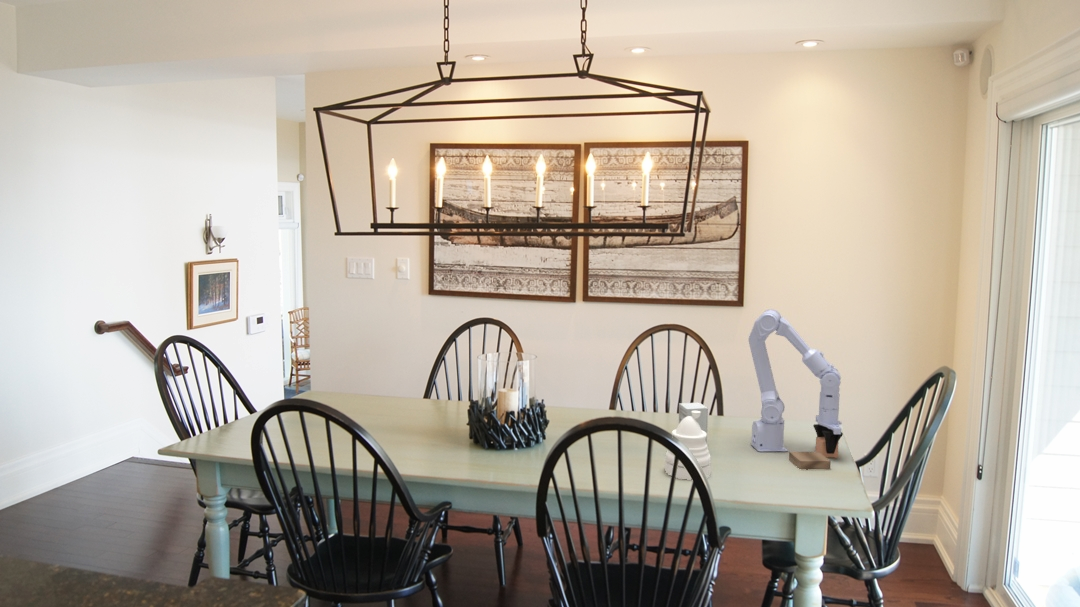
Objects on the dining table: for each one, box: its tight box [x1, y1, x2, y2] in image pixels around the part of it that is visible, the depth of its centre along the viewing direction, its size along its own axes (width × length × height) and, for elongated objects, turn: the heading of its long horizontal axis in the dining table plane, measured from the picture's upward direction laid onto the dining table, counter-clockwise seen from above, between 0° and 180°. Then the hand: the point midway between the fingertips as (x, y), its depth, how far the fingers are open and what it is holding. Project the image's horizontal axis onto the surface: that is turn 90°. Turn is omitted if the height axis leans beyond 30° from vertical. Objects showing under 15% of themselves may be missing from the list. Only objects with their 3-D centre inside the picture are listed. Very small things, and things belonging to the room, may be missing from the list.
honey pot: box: [664, 411, 712, 481], centre depth 220 cm, size 13×13×18 cm
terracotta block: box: [814, 436, 840, 458], centre depth 237 cm, size 5×5×5 cm
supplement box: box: [678, 402, 709, 444], centre depth 248 cm, size 7×7×13 cm
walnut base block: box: [788, 451, 832, 471], centre depth 228 cm, size 9×9×3 cm
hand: (826, 450), depth 237 cm, fingers closed on terracotta block, 5 cm apart
